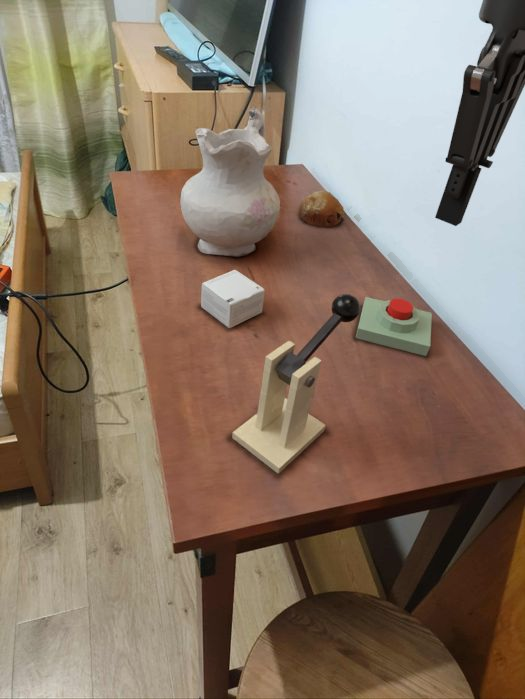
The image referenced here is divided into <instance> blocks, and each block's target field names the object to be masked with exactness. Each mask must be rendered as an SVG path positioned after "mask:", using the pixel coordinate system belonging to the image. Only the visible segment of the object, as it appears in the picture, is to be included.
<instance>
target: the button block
mask: <svg viewBox="0 0 525 699" xmlns="http://www.w3.org/2000/svg"><path fill="white" fill-rule="evenodd" d="M391 300H392V299H391ZM391 300H390V299H389V300H385V301H384V300H380V299H376V298H372V297H368V296H365V297H364V301H363V303H362V304H363V305H362V307H361V311H360V313H361V314H360V316H359V322H358V326H357V329H356V334H355V339H358V340H362V341H365V342H369V343H374V344H377V345H380V346H384V347H385V346H386V347H388V348H393V349H397V350H400V351H404V352H408V353H412V354H416V355H420V356H424V357H427V356H428V354H429V352H430V349H431V340H432V321H433V320H432V319H433V318H432V317H433V316H432V315H433V313H432V312H429V311H425V310H421V309H418V308H416V307H415V306H413V311H412V314H411V316H410V318H409V319H408V320H398V319H394V318H393V317H391V316H389V315H388V313H387V309H388V306H389V303H390V301H391Z"/></svg>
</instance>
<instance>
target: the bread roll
mask: <svg viewBox="0 0 525 699" xmlns="http://www.w3.org/2000/svg"><path fill="white" fill-rule="evenodd" d="M298 214H299V217H300V219H301V220H302V221H304V222H305V223H307V224H308V225H311V226H316V227H320V228H332V227H335V226H337V225H338V224H340V222H343V221H344V220H345V218H344V217H343V215H345V214H346V211H345V208H344V206H343V205H342V203H341V202H340V201H339V199H337V198H336V197H335V196H334V194H332V193H331V192H330V191H327V190H316V191H313V192H312V193H309V194H308V195H306V196H305V197H304V198H303V199H302V201H301V203H300V204H299V207H298Z"/></svg>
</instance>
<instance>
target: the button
mask: <svg viewBox="0 0 525 699" xmlns="http://www.w3.org/2000/svg"><path fill="white" fill-rule="evenodd" d="M413 307H414V306H413V304H412V303H411V302H409V301H408V300H405V299H403V298H393V299H391V301H390V303H389V306H388V309H387V313H388V315H389V316H391V317H393V318H394V319H398V320H408V319H409V318H410V316H411V314H412V311H413Z"/></svg>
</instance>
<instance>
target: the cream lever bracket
mask: <svg viewBox="0 0 525 699" xmlns="http://www.w3.org/2000/svg"><path fill="white" fill-rule="evenodd" d="M295 346H296V344H295V343H294V342H293V341H291V340H288V341H286V342H284V343H283V344H281V345H280V346H278V347H277V348H276V349H274V350H273V351H271V352H270V353H268V354H267V355H265V357H264V365H263V372H262V378H261V386H260V391H259V392H260V394H259V399H258V406H257V412H256V413H255V414H254V415H253V416H251V417H250V418H249V419H247V420H246V421H245V422H243V424H242V425H240V426H239V427H238V428H236V429H235V430H234V431H232V439H233V440H234V441H235V442H237V444H239V445H240V446H241V447H243V448H244V449H246V451H248V452H249V453H251V455H253V456H254V457H256V458H257V459H258V460H260V461H261V462H263V463H264V465H266V466H267V467H269V468H270V469H271V470H272V471H274V472H275V473H276V474H280V473H281V472H282V471H283V470H285V469H286V468H287V466H288V465H290V464H291V463H292V462H293V461H294V460H295V459H296V458H297V457H298V456H300V455H301V453H303V451H305V449H307V448H308V447H309V446H310V445H311V444H312V443H313V442H314V441H316V439H318V437H320V436H321V435H322V434H323V433H324V432H325V431H326V430H325V429H326V424H325V423H324V422H322V421H320V420H319V419H317V418H315V417H314V416H313V415H311V414H310V409H311V406H312V401H313V397H314V394H315V390H316V385H317V382H318V378H319V373H320V369H321V365H322V360H321V359H320V358H318V357H316V356H313V358H311V359H310V360H308V361H306V362H305V363H306V364H305V365H303V366H302V367H301V368H299V369H298V370H297V371H295V372H294V373H293V374H292V378H291V383H290V385H289V389H288V384H287V383H285V382H284V381H282V380H281V379H279V378H278V374H277V370H276V368H277V367H278V366H279V365H280V363H281V362H282V361H283V360H284V359H285V358H286V357H287V356H288V354H289V353H290V352H292V353H293V354H295V353H294V352H295V348H296V347H295ZM287 389H288V394H287ZM286 394H287V398H286Z"/></svg>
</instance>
